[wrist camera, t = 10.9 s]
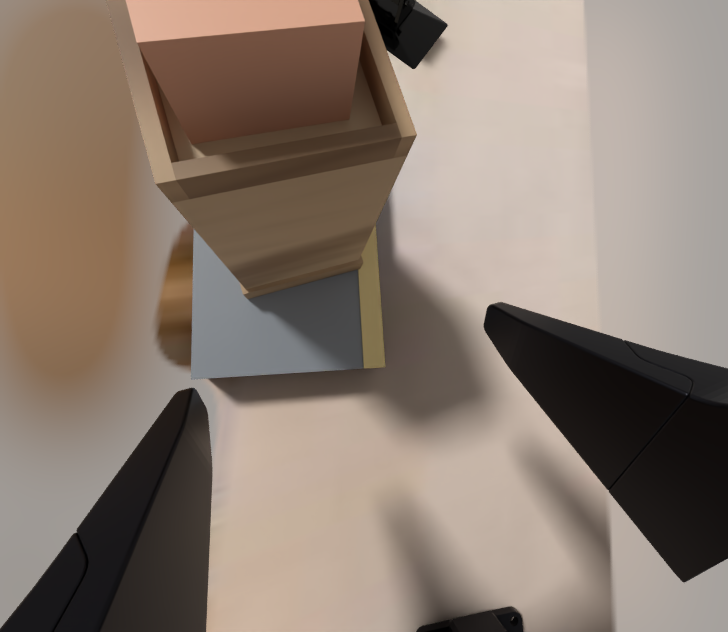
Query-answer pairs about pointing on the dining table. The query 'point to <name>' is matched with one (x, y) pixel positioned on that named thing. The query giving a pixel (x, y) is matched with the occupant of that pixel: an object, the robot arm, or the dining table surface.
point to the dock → (285, 321)
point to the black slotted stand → (407, 28)
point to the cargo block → (251, 62)
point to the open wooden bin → (280, 173)
